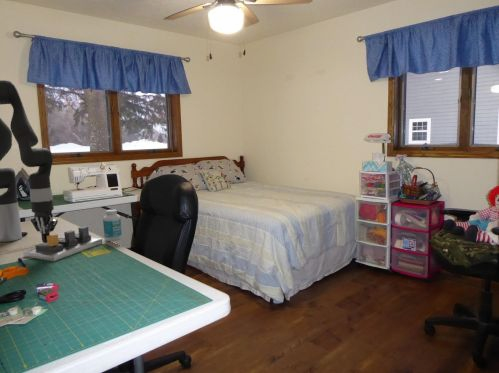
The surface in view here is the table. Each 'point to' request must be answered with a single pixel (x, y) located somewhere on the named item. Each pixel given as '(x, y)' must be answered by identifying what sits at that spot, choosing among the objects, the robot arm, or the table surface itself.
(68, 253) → the panel
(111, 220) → the pill bottle
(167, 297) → the table surface
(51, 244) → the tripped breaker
